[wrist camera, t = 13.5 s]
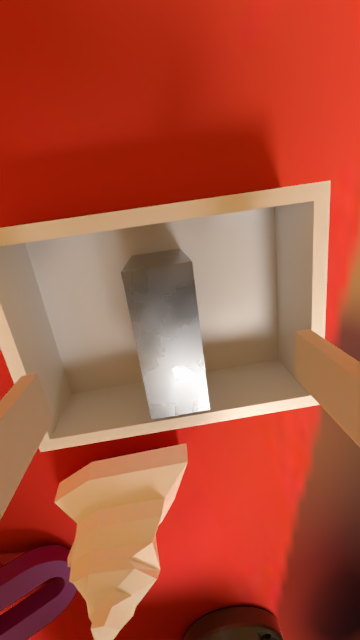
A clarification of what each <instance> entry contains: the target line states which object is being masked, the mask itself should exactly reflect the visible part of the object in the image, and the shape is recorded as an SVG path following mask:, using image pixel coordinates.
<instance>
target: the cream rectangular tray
mask: <svg viewBox="0 0 360 640" xmlns="http://www.w3.org/2000/svg"><path fill="white" fill-rule="evenodd" d="M330 185H331V181H324V182H317V183H310V184H303V185H296V186H289V187H282V188H275V189H268V190H261V191H254V192H247V193H240V194H233V195H226V196H219V197H212V198H205V199H198V200H191V201H184V202H177V203H170V204H163V205H156V206H149V207H142V208H135V209H128V210H121V211H114V212H107V213H100V214H93V215H86V216H79V217H72V218H65V219H58V220H51V221H44V222H37V223H30V224H23V225H16V226H9V227H2V228H0V348H1V351H2V353H3V356H4V359H5V361H6V364H7V367H8V369H9V372H10V374H11V377H12V380H13V382H14V384H15V383H16V382H17V381H18V380H19V379H20V378H21V376H24V375H30V374H36V373H38V376H39V379H40V382H41V385H42V388H43V391H44V394H45V397H46V400H47V403H48V406H49V408H50V411H51V414H52V417H53V420H52V422H51V424H50V426H49V428H48V430H47V432H46V434H45V436H44V438H43V440H42V441H41V443H40V445H39V450H40V452H45V451H51V450H57V449H63V448H68V447H74V446H80V445H86V444H92V443H98V442H104V441H110V440H115V439H121V438H127V437H133V436H139V435H145V434H151V433H157V432H162V431H168V430H174V429H180V428H186V427H192V426H198V425H203V424H209V423H215V422H221V421H227V420H233V419H239V418H245V417H250V416H256V415H262V414H268V413H274V412H280V411H286V410H292V409H297V408H303V407H309V406H315V405H320V404H319V403H318V402H317V401H316V400H315V399H314V398H313V397H312V396H311V395H310V393H309V392H308V391H307V390H306V389H305V388H304V387H303V386H302V385H301V384H300V383H299V382H298V380H297V379H296V368H295V331H301V330H307V329H310V330H312V331H313V332H315V333H316V334H318V335H319V336H321V337H322V338H324V339H325V319H326V292H327V266H328V239H329V212H330ZM173 249H181V250H182V251H183V252H184V253H185V254H186V255H187V256H188V257H189V259H190V260H191V261H192V264H193V272H194V280H195V289H196V297H197V305H198V313H199V322H200V330H201V338H202V346H203V355H204V363H205V371H206V379H207V388H208V396H209V404H210V410H206V411H200V412H194V413H189V414H183V415H177V416H171V417H165V418H159V419H153V420H151V415H150V410H149V406H148V401H147V396H146V391H145V386H144V381H143V377H142V372H141V367H140V362H139V357H138V352H137V348H136V343H135V338H134V333H133V328H132V323H131V319H130V314H129V309H128V304H127V299H126V294H125V290H124V285H123V280H122V275H121V271H122V270H123V268H124V267H125V265H126V264H127V262H128V261H129V259H130V258H131V256H133V255H139V254H146V253H153V252H159V251H166V250H173Z"/></svg>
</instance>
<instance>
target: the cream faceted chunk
mask: <svg viewBox="0 0 360 640" xmlns="http://www.w3.org/2000/svg"><path fill="white" fill-rule="evenodd" d="M187 463H188V457H187V444H186V443H184V444H179V445H174V446H169V447H164V448H159V449H154V450H149V451H144V452H139V453H134V454H129V455H124V456H119V457H114V458H109V459H104V460H99V461H93V462H91V463H89V464H88V465H86V466H85V467H83V468H82V469H80V470H78V471H77V472H75V473H74V474H72V475H71V476H69V477H67V478H66V479H64V480H63V481H61V482H60V483H59V487H58V490H57V494H56V497H55V501H54V503H55V504H56V505H57V506H58V507H60V508H61V509H62V510H63V511H64V512H65V513H66V514H67V515H68V516H69V517H71V518H72V519H73V520H74V521H75V522H76V523H77V530H76V537H75V540H74V542H73V545H72V548H71V550H70V553H69V555H68V558H67V559H68V567H71V570H70V579H69V582H71V583H73V584H74V585H75V587H76V588H77V590H78V591H79V592H80V594H81V595H82V596H83V598H84V599H85V601H86V603H87V610H88V616H89V619H90V620H91V622H92V625H91V632H92V635H93V638H94V640H114V638H115V637H116V635H117V634H118V633H119V631H120V630H121V629H122V628H123V627H124V626H125V624H126V623H127V622H128V621H129V620H130V619H131V618H132V617H133V615H134V612H135V609H136V606H137V605H138V604H139V603H140V601H141V600H142V599H143V597H144V596H145V595H146V593H147V592H148V591H149V589H150V588H151V587H152V585H153V584H154V583H155V581H156V580H157V578H158V576H159V573H160V563H159V557H158V550H157V543H156V536H155V535H156V532H157V528H158V525H159V524H160V523H161V522H162V521H163V519H164V517H165V515H166V514H167V512H168V510H169V508H170V506H171V505H172V503H173V501H174V499H175V496H176V493H177V491H178V488H179V485H180V482H181V479H182V477H183V474H184V471H185V468H186V466H187Z"/></svg>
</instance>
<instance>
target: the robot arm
mask: <svg viewBox="0 0 360 640" xmlns="http://www.w3.org/2000/svg"><path fill="white" fill-rule="evenodd" d="M295 368H296V379H297V380H298V382H299V383H300V384H301V385H302V386H303V387H304V388H305V389H306V390H307V391H308V392H309V393H310V395H311V396H312V397H313V398H314V399H315V400H316V401H317V402H318V403H319V404H320V405H321V406H322V407H323V409H324V410H325V411H326V412H327V413H328V414H329V415H330V416H331V417H332V418H333V419H334V420H335V422H336V423H337V424H338V425H339V426H340V427H341V428H342V429H343V430H344V431H345V432H346V433H347V434H348V435H349V437H350V438H351V439H352V440H353V441H354V442H355V443H356V444H357V445H358V446H359V447H360V362H358V361H357V360H355V359H354V358H352V357H351V356H349V355H348V354H346V353H345V352H343V351H342V350H340V349H339V348H337V347H336V346H334V345H333V344H331V343H330V342H328V341H327V340H325V339H324V338H322V337H321V336H319V335H318V334H316V333H315V332H313V331H312V330H310V329H307V330H301V331H295ZM52 420H53V417H52V414H51V411H50V408H49V406H48V403H47V400H46V397H45V394H44V391H43V388H42V385H41V382H40V379H39V376H38V373H36V374H30V375H24V376H21V378H20V379H19V380H18V381H17V382H16V383H15V384H14V385H13V387H12V388H11V389H10V390H9V391H8V392H7V393H6V395H5V396H4V397H3V398H2V399H1V400H0V520H1V518H2V516H3V514H4V512H5V510H6V508H7V507H8V505H9V503H10V501H11V499H12V497H13V495H14V493H15V491H16V489H17V487H18V485H19V484H20V482H21V480H22V478H23V476H24V474H25V472H26V470H27V468H28V466H29V464H30V463H31V461H32V459H33V457H34V455H35V453H36V451H37V449H38V447H39V445H40V443H41V441H42V440H43V438H44V436H45V434H46V432H47V430H48V428H49V426H50V424H51V422H52ZM183 640H284V639H283V636H282V632H281V629H280V626H279V623H278V621H277V619H276V618H275V617H274V616H273V615H272V614H271V613H269V612H267V611H265V610H263V609H259V608H255V607H231V608H226V609H221V610H218V611H215V612H212V613H210V614H208V615H206V616H204V617H202V618H200V619H199V620H197V621H196V622H195V623H194V624H192V625H191V626H190V628H189V629H188V630H187V631H186V633H185V635H184V638H183Z"/></svg>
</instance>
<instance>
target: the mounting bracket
mask: <svg viewBox="0 0 360 640" xmlns="http://www.w3.org/2000/svg"><path fill="white" fill-rule="evenodd" d="M69 553H70V550H69V549H68V548H66V547H65V546H62V545H46V546H42V547H38V548H35V549H33V550H30V551H28V552H26V553H24V554H23V555H21V556H19V557H18V558H16V559H14V560H13V561H11V562H9V563H8V564H6V565H4V566H3V567H1V568H0V611H2V610H3V609H5V608H6V607H8V606H9V605H11V604H12V603H14V602H15V601H17V600H18V599H20V598H21V597H23V596H24V595H26V594H27V593H29V592H30V591H32V590H33V589H35V588H36V587H38V586H39V585H41V584H42V583H44V582H45V581H47V580H49V579H51V578H54V577H56V578H55V579H54V580H53V581H51V582H50V583H48V584H47V585H45V586H44V587H42V588H41V589H39V590H38V591H36V592H35V593H33V594H32V595H30V596H29V597H27V598H26V599H24V600H23V601H21V602H20V603H18V604H17V605H15V606H14V607H12V608H11V609H10V610H8V611H7V612H5V613H3V614H2V615H0V640H27V639H29V638H30V637H31V636H33V635H34V634H35V633H37V632H38V631H40V630H41V629H42V628H44V627H45V626H46V625H48V624H49V623H50V622H52V621H53V620H54V619H55V618H57V617H58V616H59V615H60V614H61V613H62V612H63V611H64V610H65V609H66V607H67V606H68V605H69V604H70V602H71V601H72V599H73V598H74V596H75V594H76V592H77V588H76V587H75V585H74V584H73V583H71V582H69V579H70V570H71V567H68V559H67V558H68V555H69Z"/></svg>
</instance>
